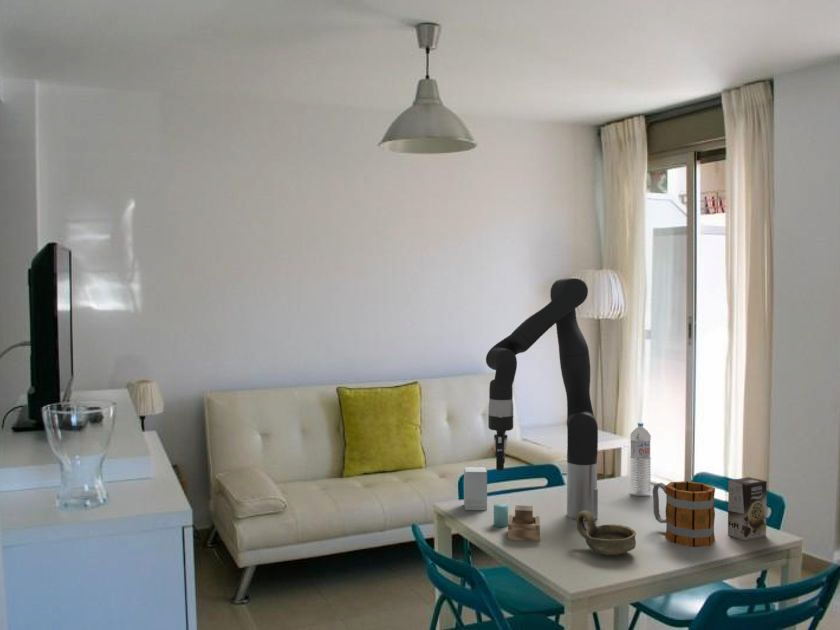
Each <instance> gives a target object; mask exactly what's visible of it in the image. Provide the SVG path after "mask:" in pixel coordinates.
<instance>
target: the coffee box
mask: <svg viewBox="0 0 840 630" xmlns="http://www.w3.org/2000/svg"><path fill="white" fill-rule="evenodd" d="M767 484H768V481H767V480H763V479H760V478H753V477H750V476H749V477H741V478H736V479H735V478H734V479H729V480H728V495H727V497H728V499H727V500H728V503H727V535H728V536H731V537H734V538H737V539H740V540H741V541H748V540H753V539H758V538H762V537H767V499H768V498H767V497H768V494H767V493H768V492H767V488H768V485H767Z"/></svg>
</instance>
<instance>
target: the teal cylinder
mask: <svg viewBox="0 0 840 630" xmlns="http://www.w3.org/2000/svg"><path fill="white" fill-rule="evenodd" d="M508 518H509V504H507V503H494V504H493V526H494V527H497V528H508Z"/></svg>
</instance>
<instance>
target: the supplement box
mask: <svg viewBox="0 0 840 630" xmlns="http://www.w3.org/2000/svg"><path fill="white" fill-rule="evenodd" d="M463 505H464V506H463V507H464V510H465V511H487V510H488V471H487V469H486V467H485V466H483V467H482V466H478V467H477V466H472V467H470V466H467V467H466V466H465V467H464V468H463Z"/></svg>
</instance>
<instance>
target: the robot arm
mask: <svg viewBox="0 0 840 630" xmlns="http://www.w3.org/2000/svg"><path fill="white" fill-rule="evenodd" d="M588 293H589V289H588V285H587V284H586V282H585V281H584V280H583V279H581V278H579V277H567V278H560V279H558V280H555V281H554V282H553V283H552V285H551V288H550V302H549V303H547V304H546V305H545V306H544V307H543V308H541V309H540V310H538V311H537V312H535V313H534V314H531V316H529V317H528V318H526V319H525V320H523V322H521V323H520V325H518V327H516V328H515V330H513V332H511V334H509V335H508V336H507V337H505V338H503V339H502V340H501V341H499V342H497V343H496V344H494V345H493V346H492V347H491V348H490V349H489V350H488V352H487V353H486V357H485V363H486V365H487V367H489V368H490V369H491V370H493V371H495V375H494V378H493V379H492V380H491V381H490V382H489V388H488V392H489V393H488V394H489V399H488V400H489V401H488V415H487V416H488V417H487V418H488V425H487V426H488V429H489V430H491V431H496V433H495V434H494V436H493V442H494V446H493V447H494V451H495V454H494V456H495V458H496V462H495V463H496V465H495V466H496V467H495V468H496V469H495V470H497V471H504V470H505V469H504V468H505V463H506V460H505V459H506V451H507V445H508V444H507V443H508V434H506V433H507V432H508V431H511V430H513V429H514V401H513V391H514V390H513V389H514V388H513V384H514V382H515V377H516V373H517V368H518V360H517V355H519V354H521V353H525V352H526V351H528V350H529V349H530V348H531V347H532V346H533V345H534V344H536V342H538V340H539V339H540V338H541V337H542V336H544V334H545V333H546V332H548V331H549V329H551V328H552V327H553V326H554V325H555V324H556V325H555V327H556V335H557V343H558V353H559V355H558V356H559V365H560V366H559V367H560V371H561V376H562V381H563V385H564V390H565V393H566V404H567V405H566V408H567V410H566V429H567V432H566V433H567V438H566V439H567V443H566V444H567V449H566V516H567V517H568V518H570V519H573V520H576V516H577V514H578V513H579V512H581V511H585V510H586V511H589V512H590V513H591V514H592V516H593V518H594V520H598V518H599V515H598V514H599V511H598V510H599V507H598V505H599V504H598V503H599V502H598V501H599V499H598V498H599V497H598V496H599V493H598V492H599V489H598V453H599V452H598V449H599V446H598V444H599V440H598V439H599V435H598V434H599V429H598V426H599V425H598V422H597V420H596V418H595V414H594V410H593V406H592V400H591V391H590V387H591V362H590V361H591V359H590V351H589V346H588V343H587V341H586V338H585V336H584V334H583V332H582V331H581V328H580V326H579V324H578V320H577V313H576V311H577V310H576V308H578V307H579V306H580V305H582V304H583V303H585V301H586V300H587V298H588ZM583 521H587V520H586V518H585V517H584V518H583Z"/></svg>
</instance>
